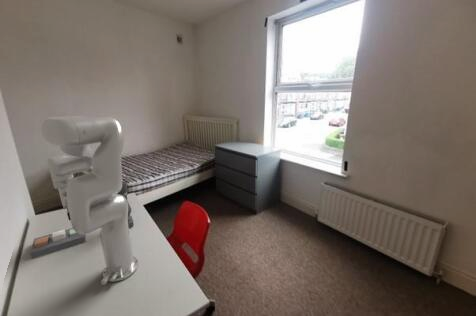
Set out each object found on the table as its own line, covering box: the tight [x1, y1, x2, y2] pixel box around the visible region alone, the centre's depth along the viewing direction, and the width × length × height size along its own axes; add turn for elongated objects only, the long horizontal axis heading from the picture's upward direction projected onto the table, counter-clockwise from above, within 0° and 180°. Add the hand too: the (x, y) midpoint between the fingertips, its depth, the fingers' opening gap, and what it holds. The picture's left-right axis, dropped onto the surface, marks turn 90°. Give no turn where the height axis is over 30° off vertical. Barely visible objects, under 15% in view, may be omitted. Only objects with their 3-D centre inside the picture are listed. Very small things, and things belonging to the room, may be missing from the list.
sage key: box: [70, 228, 79, 237], centre depth 104 cm, size 4×4×4 cm
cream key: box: [51, 229, 66, 242], centre depth 100 cm, size 4×4×4 cm
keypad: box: [29, 227, 87, 260], centre depth 101 cm, size 19×12×3 cm, turn 127°
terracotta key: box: [34, 236, 49, 247], centre depth 97 cm, size 4×4×4 cm
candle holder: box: [118, 180, 135, 230], centre depth 111 cm, size 6×6×25 cm
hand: (73, 218), depth 101 cm, fingers closed
